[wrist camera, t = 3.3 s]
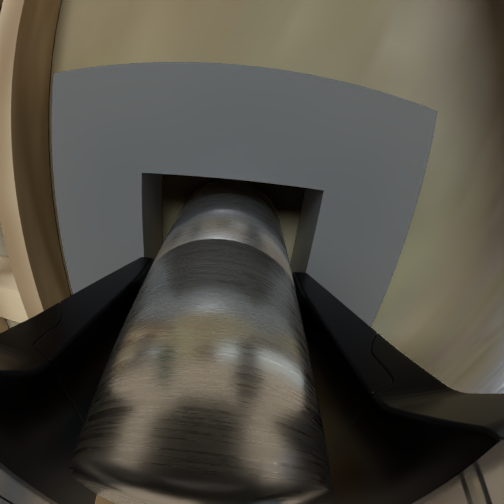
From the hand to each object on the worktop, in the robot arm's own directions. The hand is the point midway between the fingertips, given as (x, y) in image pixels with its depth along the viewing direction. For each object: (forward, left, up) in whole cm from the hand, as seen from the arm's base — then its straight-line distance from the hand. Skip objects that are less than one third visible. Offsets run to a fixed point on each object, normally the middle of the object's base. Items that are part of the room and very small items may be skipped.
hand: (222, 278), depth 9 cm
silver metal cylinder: (0, 0, -4) cm, 4 cm away
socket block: (0, 0, -4) cm, 4 cm away
